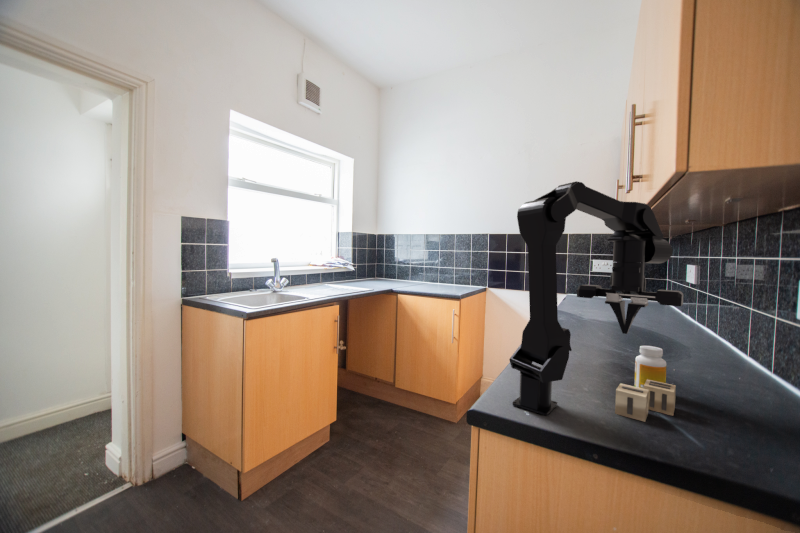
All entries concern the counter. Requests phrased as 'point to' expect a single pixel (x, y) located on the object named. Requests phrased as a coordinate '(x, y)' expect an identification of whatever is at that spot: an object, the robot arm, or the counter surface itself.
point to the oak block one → (632, 402)
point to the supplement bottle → (649, 366)
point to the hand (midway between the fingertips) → (625, 333)
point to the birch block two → (661, 396)
